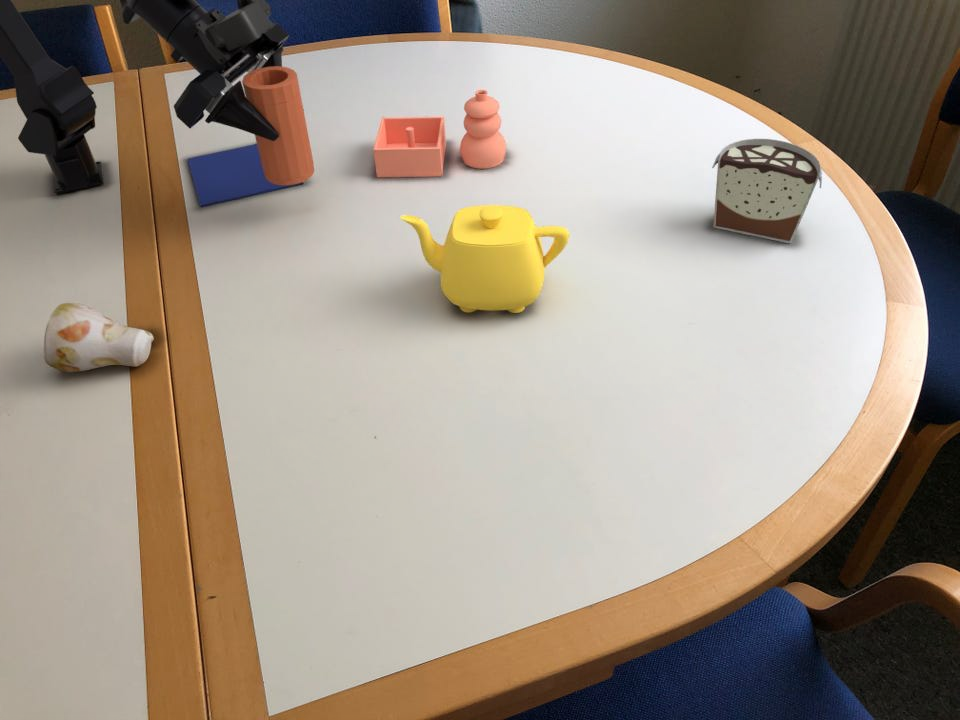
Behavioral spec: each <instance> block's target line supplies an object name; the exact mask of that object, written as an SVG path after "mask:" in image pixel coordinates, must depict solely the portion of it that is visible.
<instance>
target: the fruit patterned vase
mask: <svg viewBox="0 0 960 720" xmlns="http://www.w3.org/2000/svg"><path fill="white" fill-rule="evenodd" d="M154 337H155V336H154V335H153V334H152V333H151V332H150V331H148V330H145V329H141V328H135V327H130V326H126V325H123V324H121V323H118V322H117V321H115V320H113V319H112V318H110V317H108V316H107V315H105V314H103V313H101V312H99V311H98V310H96V309H94V308H93V307H90V306H88V305H85V304H81V303H76V302H65V303H60V304H59V305H57V306H56V307H55V309H54V310H53V311H52V313H51V314H50V317H49V319H48V321H47V324H46V328H45V331H44V337H43V355H44V362H45V364H46V365H47V366H49V368H53V369H55V370H59V371H62V372H70V373H71V372H84V371H89V370H93V369H99V368H103V367H107V366H126V367H127V366H129V367H134V368H135V367H140V366H141V365H143V364H144V363H145V362H146V361H147V360H148V358H149V357H150V355H151V349H152V343H153V342H154V340H155V338H154Z"/></svg>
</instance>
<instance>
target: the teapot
mask: <svg viewBox="0 0 960 720" xmlns="http://www.w3.org/2000/svg"><path fill="white" fill-rule="evenodd" d="M400 219H401V220H402V221H404V222H406V223H407V224H408V225H410V226H411V227H412V228H413V229H414V230H415V232H416V234H417V237H418V239H419V243H420V247H421V251H422V255H423V257H424V259H425V262H427V264H428V265H429V266H430V267H431V268H432V269H433V270H435V271H437V272H439V273H440V286H441V287H440V288H441V290H442V293H443V294H444V295H445V297H446V298H447V299H448V300H449V302H450V303H452V304H453V305H455V306H457V307H459V309H460V310H461V311H462V312H464V313H473V312H476V311H478V310H480V311H508V312H509V313H512V314H520V313H522V312H523V311H524V310H525V309H526V307H527V306H530V305H531V304H533V303H534V302H535V301H536V300H537V299H538V297H539V295H540V294H541V292H542V289H543V285H544V280H545V273H546V267H547V266H548V265H550V264H551V263H552V262H553V261H554V260H555V259H556V258H557V257H558V256H559V255H560V254H561V253H562V252H563V251H564V249H565V248H566V247H567V244H568V242H569V240H570V233H569V232H570V231H569V230H568V229H567V228H566V227H563V226H560V225H545V226H544V225H543V226H537V225H536V224H535V220H534V218H533V217H532V215H531V213H530V211H529V210H527V209H525V208H522V207H518V206H513V205H502V204H501V205H500V204H485V205H483V204H482V205H471V206H466V207H463V208H461V209H458V210H457V211H456V212H455V214H454V216H453V218H452V220H451V224H450V227H449V229H448V232H447V234H446V237H445V240H444V244H440V243H438V242H437V241H436V240H434V238H433V236H432V233H431V230H430V227H429V225H428V224H427V223H426V221H425V220H423V219H422V218H420V217H417V216H414V215H409V214H403V215H401V216H400ZM547 237H549V238H553V242H552V244H551V246H550V247H549V250H547V252H546V253H545V254H544V248H543V243H542V240H541V238H547Z"/></svg>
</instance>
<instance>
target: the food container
mask: <svg viewBox="0 0 960 720" xmlns="http://www.w3.org/2000/svg"><path fill="white" fill-rule="evenodd" d="M715 166H717V169H716V170H717V171H716V183H715V185H716V186H715V196H714V197H715V198H714V213H713V224H712V225H713V226H712V228H714V229H719V230H723V231H728V232H733V233H736V234H737V233H738V234H744V235H748V236H751V237H757V238H762V239H765V240H772V241H776V242H781V243H786V244H792V243H793V240H794V237H795V236H796V233H797V231H798V228H799V226H800V224H801V221H802V219H803V217H804V214H805V211H806V209H807V207H808V205H809V202H810V200H811V197H812V195H813V193H814V191H815V188H816V185H817V184H818V181H819V189H822V184H823V182H822V181H823V170H822V165H821V161H820V160H819V159H818V158H817V157H816V156H815V155H814V154H813V153H812V152H811V151H809V150H807V149H806V148H804V147H802V146H799V145H797V144H794V143H791V142H788V141H784V140H779V139H771V138H747V139H741V140H736V141H735V142H732V143H729V144H728V145H725V146H724V147H723V148H722V149H721V150H720V151H719V153H718V155H716V157H715V159H714V162H713V165H712V167H711V168H712V169H714V168H715Z"/></svg>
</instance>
